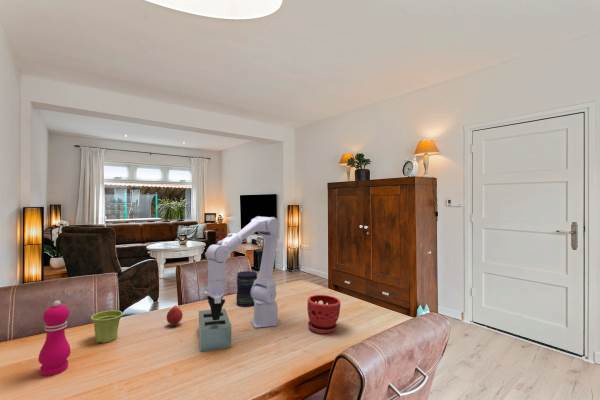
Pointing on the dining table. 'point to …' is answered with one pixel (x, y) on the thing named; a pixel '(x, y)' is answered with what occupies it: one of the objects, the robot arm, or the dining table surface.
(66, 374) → the dining table surface
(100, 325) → the plant pot
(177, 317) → the onion
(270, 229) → the robot arm
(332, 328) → the plant pot
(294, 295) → the dining table surface
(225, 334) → the toaster
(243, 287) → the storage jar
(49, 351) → the pepper mill
